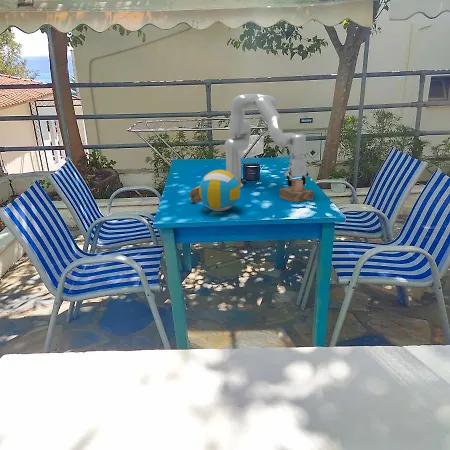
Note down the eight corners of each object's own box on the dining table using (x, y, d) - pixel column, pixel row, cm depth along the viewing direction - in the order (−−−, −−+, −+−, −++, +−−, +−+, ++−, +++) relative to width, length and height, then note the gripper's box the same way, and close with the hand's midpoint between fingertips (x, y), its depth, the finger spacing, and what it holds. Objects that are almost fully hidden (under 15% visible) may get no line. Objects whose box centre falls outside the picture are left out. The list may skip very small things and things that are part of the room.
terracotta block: (295, 191, 240) (295, 181, 238) (290, 189, 244) (290, 179, 242) (302, 190, 242) (302, 180, 240) (297, 188, 246) (297, 178, 244)
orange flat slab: (193, 204, 235) (193, 190, 232) (189, 203, 236) (188, 189, 233) (208, 198, 247) (208, 184, 244) (204, 197, 248) (203, 183, 245)
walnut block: (292, 202, 236) (293, 194, 234) (279, 196, 248) (279, 188, 246) (312, 199, 242) (313, 191, 240) (298, 193, 254) (299, 185, 252)
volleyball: (234, 218, 211) (234, 176, 204) (193, 214, 217) (192, 173, 210) (244, 205, 231) (244, 167, 224) (206, 202, 237) (205, 165, 229)
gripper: (289, 158, 230) (287, 188, 235) (314, 156, 237) (312, 185, 242) (281, 156, 236) (280, 185, 242) (306, 154, 243) (304, 182, 249)
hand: (296, 185), depth 242 cm, fingers open, 9 cm apart
